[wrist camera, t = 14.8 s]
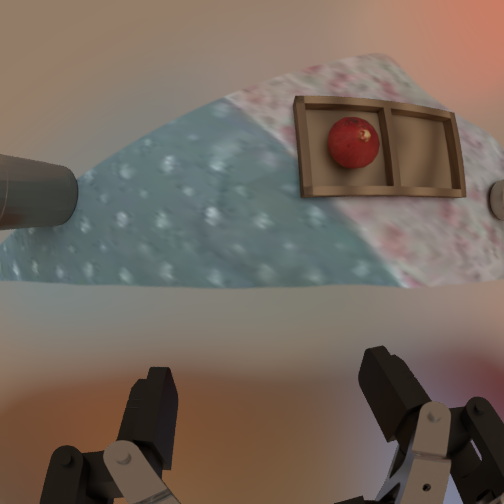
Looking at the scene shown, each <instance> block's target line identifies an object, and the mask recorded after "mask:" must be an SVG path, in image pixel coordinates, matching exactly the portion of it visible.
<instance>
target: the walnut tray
mask: <svg viewBox="0 0 504 504" xmlns="http://www.w3.org/2000/svg"><path fill="white" fill-rule="evenodd" d="M293 109H294V119H295V128H296V139H297V150H298V162H299V175H300V190H301V198H303V197H339V196H409V197H443V198H462V197H466V185H465V174H464V166H463V158H462V151H461V145H460V139H459V133H458V128H457V123H456V118H455V114H454V113H453V112H449V111H444V110H439V109H434V108H429V107H424V106H418V105H413V104H406V103H400V102H392V101H384V100H375V99H365V98H352V97H335V96H295V99H294V103H293ZM344 117H358V118H361V119H364V120H366V121H368V122H369V123H370V124H371V125H372V126H373V127H374V129H375V130H376V132H377V134H378V137H379V141H380V146H379V152H378V155H377V156H376V158H375V159H374V161H373V162H372V163H370V164H369V165H367V166H365V167H364V168H355V169H351V168H347V167H343V166H342V165H340V164H339V163H338V162H336V161H335V160H334V158H333V157H332V155H331V154H330V152H329V148H328V134H329V131H330V129H331V128H332V126H333V124H334V123H336V122H337V121H339V120H341V119H342V118H344Z"/></svg>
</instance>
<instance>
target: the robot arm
mask: <svg viewBox="0 0 504 504" xmlns="http://www.w3.org/2000/svg"><path fill="white" fill-rule="evenodd" d="M77 193H78V190H77V182H76V178H75V176H74V174H73V173H72V172H71V170H70V169H68V168H67V167H64V166H60V165H55V164H50V163H46V162H40V161H35V160H30V159H25V158H19V157H13V156H7V155H2V154H0V230H9V229H20V228H31V227H44V226H56V225H61V224H63V223H64V222H66V221H67V220H68V219H69V217H70V216H71V214H72V213H73V211H74V208H75V205H76V201H77ZM358 380H359V385H360V387H361V389H362V392H363V394H364V396H365V398H366V400H367V402H368V404H369V405H370V408H371V410H372V412H373V414H374V416H375V418H376V420H377V422H378V424H379V426H380V428H381V430H382V432H383V434H384V437H385V439H386V441H387V442H390V441H394V440H397V441H398V443H399V444H398V446H397V448H396V451H395V454H394V457H393V460H392V463H391V466H390V469H389V472H388V475H387V478H386V480H385V482H384V484H383V486H382V488H381V490H380V491H379V493H378V494H377V496H376V499H375V501H374V500H364V498H363V496H359V497H356V498H353V499H349V500H345V501H342V502H338V503H334V504H443V500H444V496H445V492H446V488H447V483H448V479H449V474H451V476H452V478H453V480H454V482H455V485H456V487H457V490H458V492H459V494H460V497H461V499H462V501H463V504H504V424H503V422H502V420H501V419H500V417H499V416H498V414H497V413H496V411H495V410H494V408H493V407H492V406H491V404H490V403H489V402H488V401H487V400H486V399H484V398H482V397H473V398H471V399H470V400H469V401H468V402H467V404H466V405H465V406H464V407H457V408H447V407H446V406H445V405H444V404H442V403H440V402H432V401H431V399H430V398H429V397H428V395H427V394H426V392H425V390H424V389H423V388H422V386H421V385H420V383H419V382H418V380H417V379H416V378H415V377H414V375H413V373H412V372H411V371H410V370H409V368H408V366H407V365H406V363H405V362H404V361H403V360H402V359H400V358H399V357H397V356H396V355H390V353H389V352H388V351H387V349H386V348H385V347H384V346H378V347H373V348H368V349H366V350H365V353H364V356H363V360H362V364H361V367H360V371H359V375H358ZM177 410H178V393H177V389H176V386H175V383H174V380H173V377H172V373H171V370H170V368H169V367H151V368H150V369H149V372H148V376H147V379H139V380H138V381H137V382H136V383H135V384H134V386H133V387H132V388H131V392H130V395H129V400H128V402H127V405H126V408H125V412H124V415H123V420H122V423H121V426H120V430H119V434H118V437H117V440H116V441H115V442H113V443H111V444H110V445H109V446H108V447H107V448H106V449H105V450H103V451H99V452H88V453H81V452H80V451H79V450H78V449H77V448H75V447H73V446H68V445H66V446H61V447H59V448H57V449H56V450H55V451H54V452H53V454H52V456H51V460H50V463H49V467H48V470H47V474H46V478H45V482H44V486H43V491H42V495H41V499H40V504H113V502H114V498H121V497H124V498H125V499H126V501H127V502H128V504H181V503H180V502H179V500H178V499H177V498H176V497H175V496H174V494H173V493H172V492H171V491H170V489H169V488H168V487H167V486H166V484H165V483H164V482H163V480H162V470H171V465H172V454H173V445H174V436H175V427H176V419H177ZM472 439H473V441H474V443H475V445H476V446H477V448H478V450H479V452H480V454H481V457H482V461H481V460H480V458H479V457H478V455H477V453H476V451H475V449H474V447H473V445H472V443H471V442H470V441H471V440H472Z"/></svg>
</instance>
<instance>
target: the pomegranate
mask: <svg viewBox="0 0 504 504" xmlns="http://www.w3.org/2000/svg"><path fill="white" fill-rule="evenodd" d="M379 146H380V141H379V137H378V134H377V132H376V130H375V129H374V127H373V126H372V125H371V124H370V123H369V122H368V121H366V120H364V119H361V118H358V117H344V118H342V119H341V120H339V121H337V122H336V123H334V124H333V126H332V128H331V129H330V131H329V134H328V148H329V152H330V154H331V155H332V157H333V158H334V160H335V161H336V162H338V163H339V164H340V165H342V166H343V167H347V168H351V169H355V168H364V167H365V166H367V165H369V164H370V163H372V162H373V161H374V159H375V158H376V156H377V155H378V152H379Z"/></svg>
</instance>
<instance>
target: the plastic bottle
mask: <svg viewBox="0 0 504 504" xmlns="http://www.w3.org/2000/svg"><path fill="white" fill-rule="evenodd" d="M490 204H491V208H492V211H493V213H494V214H495V215H496V217H497V218H499V219H500V220H503V221H504V179H503V180H501V181H498V182H496V183H495V185H494V186H493V188H492V190H491V193H490Z"/></svg>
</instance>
